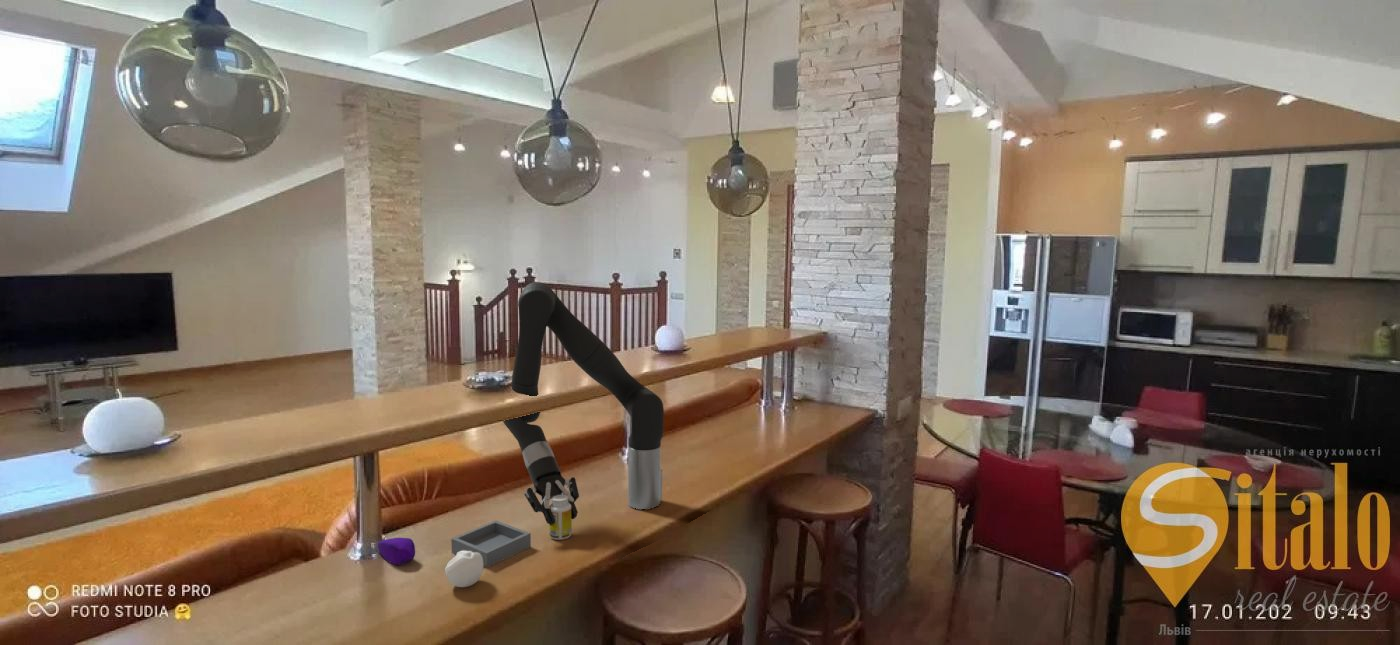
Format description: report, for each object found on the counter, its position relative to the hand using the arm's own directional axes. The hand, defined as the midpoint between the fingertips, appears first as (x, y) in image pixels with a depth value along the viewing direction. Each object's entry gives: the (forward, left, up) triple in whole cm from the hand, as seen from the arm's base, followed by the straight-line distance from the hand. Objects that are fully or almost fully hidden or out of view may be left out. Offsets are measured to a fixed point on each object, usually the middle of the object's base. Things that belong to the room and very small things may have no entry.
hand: (563, 520), depth 163 cm
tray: (+15, -10, -5) cm, 18 cm away
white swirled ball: (+29, -1, -5) cm, 29 cm away
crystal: (+30, -25, -5) cm, 40 cm away
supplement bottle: (0, -2, -5) cm, 5 cm away
